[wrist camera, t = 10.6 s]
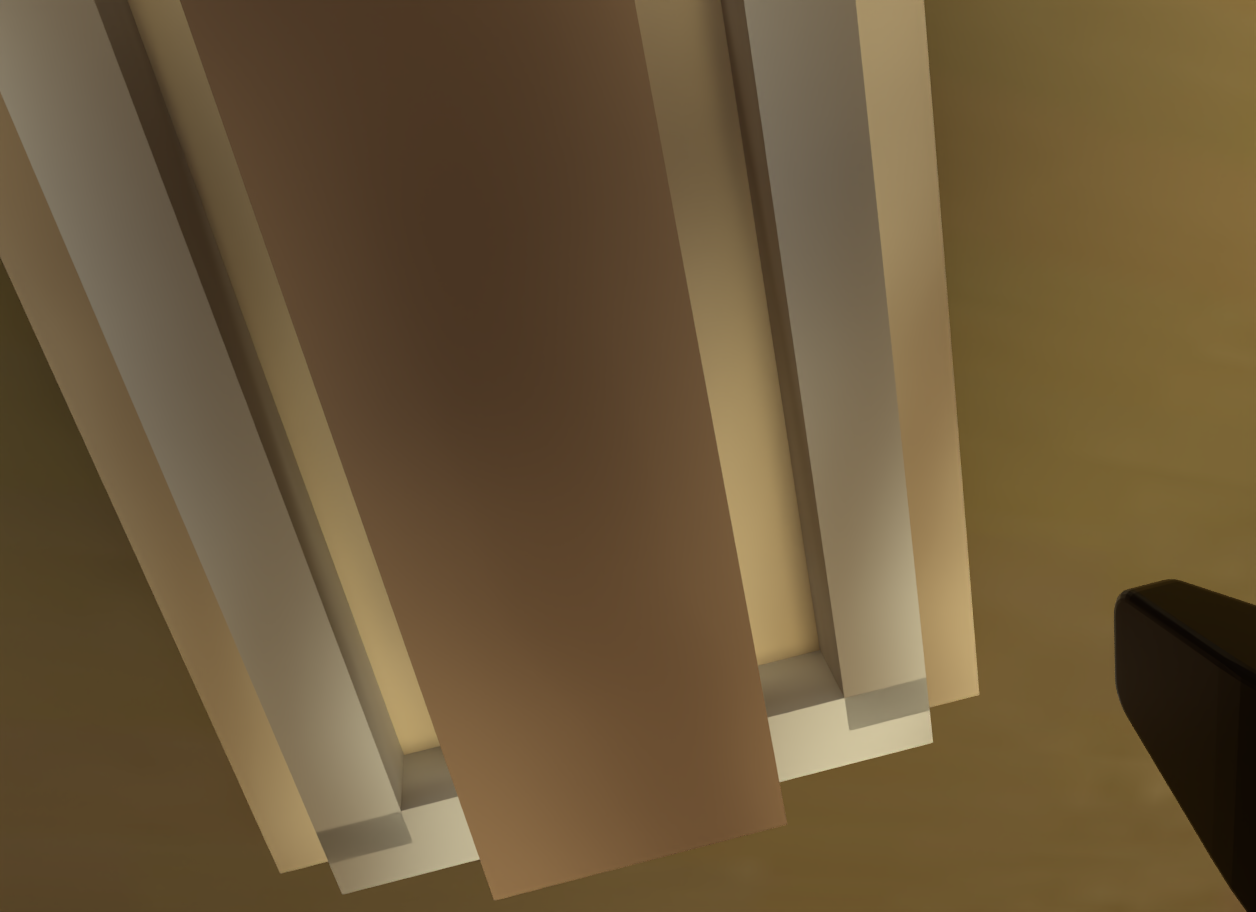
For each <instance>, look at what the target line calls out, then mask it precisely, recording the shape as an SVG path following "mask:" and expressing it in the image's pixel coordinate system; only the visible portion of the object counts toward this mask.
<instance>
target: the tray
mask: <svg viewBox="0 0 1256 912" xmlns="http://www.w3.org/2000/svg"><path fill="white" fill-rule="evenodd" d="M635 6H636V11H637V17H638V22H639V27H640V33H641V38H642V44H643V49H644V54H645V60H646V65H647V70H648V76H649V81H650V87H651V92H652V97H653V103H654V108H655V114H656V119H657V124H658V130H659V135H660V141H661V146H662V151H663V157H664V162H665V167H666V173H667V178H668V184H669V189H670V194H671V200H672V205H673V211H674V216H675V221H676V227H677V232H678V238H679V243H680V248H681V254H682V259H683V265H684V270H685V275H686V281H687V286H688V291H689V297H690V302H691V308H692V313H693V318H694V324H695V329H696V335H697V340H698V345H699V351H700V356H701V362H702V367H703V372H704V378H705V383H706V388H707V394H708V399H709V405H710V410H711V415H712V421H713V426H714V432H715V437H716V442H717V448H718V453H719V459H720V464H721V469H722V475H723V480H724V486H725V491H726V496H727V502H728V507H729V512H730V518H731V523H732V529H733V534H734V539H735V545H736V550H737V556H738V561H739V566H740V572H741V577H742V583H743V588H744V593H745V599H746V604H747V609H748V615H749V620H750V626H751V631H752V636H753V642H754V647H755V653H756V658H757V663H758V669H759V674H760V680H761V685H762V690H763V696H764V701H765V707H766V712H767V717H768V723H769V728H770V733H771V739H772V744H773V750H774V755H775V760H776V766H777V771H778V777H779V782H782V781H786V780H790V779H794V778H797V777H801V776H805V775H809V774H813V773H817V772H821V771H825V770H828V769H832V768H836V767H840V766H844V765H848V764H852V763H856V762H860V761H863V760H867V759H871V758H875V757H879V756H883V755H887V754H891V753H895V752H898V751H902V750H906V749H910V748H914V747H918V746H922V745H926V744H929V743H933V738H932V729H931V719H930V710H929V708H930V707H933V706H937V705H941V704H945V703H949V702H953V701H957V700H961V699H965V698H969V697H973V696H976V695H979V686H978V673H977V661H976V648H975V635H974V623H973V610H972V598H971V585H970V573H969V560H968V548H967V535H966V522H965V510H964V497H963V485H962V472H961V460H960V447H959V435H958V422H957V409H956V397H955V384H954V372H953V359H952V347H951V334H950V322H949V309H948V297H947V284H946V271H945V259H944V246H943V234H942V221H941V209H940V196H939V184H938V171H937V158H936V146H935V133H934V121H933V108H932V96H931V83H930V71H929V58H928V45H927V33H926V20H925V8H924V0H635ZM0 258H1V260H2V262H3V264H4V266H5V269H6V271H7V273H8V275H9V277H10V280H11V282H12V284H13V286H14V288H15V291H16V293H17V295H18V297H19V299H20V302H21V304H22V306H23V308H24V310H25V313H26V315H27V317H28V319H29V321H30V324H31V326H32V328H33V330H34V332H35V335H36V337H37V339H38V341H39V343H40V346H41V348H42V350H43V352H44V354H45V357H46V359H47V361H48V363H49V365H50V368H51V370H52V372H53V374H54V376H55V379H56V381H57V383H58V385H59V387H60V390H61V392H62V394H63V396H64V398H65V401H66V403H67V405H68V407H69V409H70V412H71V414H72V416H73V418H74V420H75V423H76V425H77V427H78V429H79V432H80V434H81V436H82V438H83V440H84V443H85V445H86V447H87V449H88V451H89V454H90V456H91V458H92V460H93V462H94V465H95V467H96V469H97V471H98V473H99V476H100V478H101V480H102V482H103V484H104V487H105V489H106V491H107V493H108V495H109V498H110V500H111V502H112V504H113V506H114V509H115V511H116V513H117V515H118V517H119V520H120V522H121V524H122V526H123V528H124V531H125V533H126V535H127V537H128V539H129V542H130V544H131V546H132V548H133V550H134V553H135V555H136V557H137V559H138V561H139V564H140V566H141V568H142V570H143V572H144V575H145V577H146V579H147V581H148V583H149V586H150V588H151V590H152V592H153V594H154V597H155V599H156V601H157V603H158V606H159V608H160V610H161V612H162V614H163V617H164V619H165V621H166V623H167V625H168V628H169V630H170V632H171V634H172V636H173V639H174V641H175V643H176V645H177V647H178V650H179V652H180V654H181V656H182V658H183V661H184V663H185V665H186V667H187V669H188V672H189V674H190V676H191V678H192V680H193V683H194V685H195V687H196V689H197V691H198V694H199V696H200V698H201V700H202V702H203V705H204V707H205V709H206V711H207V713H208V716H209V718H210V720H211V722H212V724H213V727H214V729H215V731H216V733H217V735H218V738H219V740H220V742H221V744H222V746H223V749H224V751H225V753H226V755H227V757H228V760H229V762H230V764H231V766H232V768H233V771H234V773H235V775H236V777H237V779H238V782H239V784H240V786H241V788H242V791H243V793H244V795H245V797H246V799H247V802H248V804H249V806H250V808H251V810H252V813H253V815H254V817H255V819H256V821H257V824H258V826H259V828H260V830H261V832H262V835H263V837H264V839H265V841H266V843H267V846H268V848H269V850H270V852H271V854H272V857H273V859H274V861H275V863H276V865H277V868H278V870H279V872H280V874H281V873H285V872H289V871H293V870H297V869H301V868H305V867H308V866H312V865H316V864H320V863H324V862H329V864H330V867H331V869H332V871H333V874H334V876H335V879H336V881H337V883H338V886H339V888H340V890H341V893H342V895H343V894H347V893H351V892H354V891H358V890H362V889H366V888H370V887H374V886H378V885H382V884H386V883H389V882H393V881H397V880H401V879H405V878H409V877H413V876H417V875H421V874H424V873H428V872H432V871H436V870H440V869H444V868H448V867H452V866H455V865H459V864H463V863H467V862H471V861H475V860H479V859H480V858H479V856H478V853H477V850H476V847H475V844H474V841H473V838H472V836H471V833H470V830H469V827H468V824H467V821H466V818H465V816H464V813H463V810H462V807H461V804H460V801H459V798H458V796H457V793H456V790H455V787H454V784H453V781H452V778H451V775H450V773H449V770H448V767H447V764H446V761H445V758H444V755H443V753H442V750H441V747H440V744H439V741H438V738H437V735H436V733H435V730H434V727H433V724H432V721H431V718H430V715H429V712H428V710H427V707H426V704H425V701H424V698H423V695H422V692H421V690H420V687H419V684H418V681H417V678H416V675H415V672H414V670H413V667H412V664H411V661H410V658H409V655H408V652H407V649H406V647H405V644H404V641H403V638H402V635H401V632H400V629H399V627H398V624H397V621H396V618H395V615H394V612H393V609H392V607H391V604H390V601H389V598H388V595H387V592H386V589H385V586H384V584H383V581H382V578H381V575H380V572H379V569H378V566H377V564H376V561H375V558H374V555H373V552H372V549H371V546H370V544H369V541H368V538H367V535H366V532H365V529H364V526H363V524H362V521H361V518H360V515H359V512H358V509H357V506H356V503H355V501H354V498H353V495H352V492H351V489H350V486H349V483H348V481H347V478H346V475H345V472H344V469H343V466H342V463H341V461H340V458H339V455H338V452H337V449H336V446H335V443H334V440H333V438H332V435H331V432H330V429H329V426H328V423H327V420H326V418H325V415H324V412H323V409H322V406H321V403H320V400H319V398H318V395H317V392H316V389H315V386H314V383H313V380H312V377H311V375H310V372H309V369H308V366H307V363H306V360H305V357H304V355H303V352H302V349H301V346H300V343H299V340H298V337H297V335H296V332H295V329H294V326H293V323H292V320H291V317H290V315H289V312H288V309H287V306H286V303H285V300H284V297H283V294H282V292H281V289H280V286H279V283H278V280H277V277H276V274H275V272H274V269H273V266H272V263H271V260H270V257H269V254H268V252H267V249H266V246H265V243H264V240H263V237H262V234H261V231H260V229H259V226H258V223H257V220H256V217H255V214H254V211H253V209H252V206H251V203H250V200H249V197H248V194H247V191H246V189H245V186H244V183H243V180H242V177H241V174H240V171H239V168H238V166H237V163H236V160H235V157H234V154H233V151H232V148H231V146H230V143H229V140H228V137H227V134H226V131H225V128H224V126H223V123H222V120H221V117H220V114H219V111H218V108H217V105H216V103H215V100H214V97H213V94H212V91H211V88H210V85H209V83H208V80H207V77H206V74H205V71H204V68H203V65H202V63H201V60H200V57H199V54H198V51H197V48H196V45H195V43H194V40H193V37H192V34H191V31H190V28H189V25H188V22H187V20H186V17H185V14H184V11H183V8H182V5H181V2H180V0H0Z"/></svg>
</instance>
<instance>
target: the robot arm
mask: <svg viewBox="0 0 1256 912" xmlns="http://www.w3.org/2000/svg"><path fill="white" fill-rule="evenodd" d="M1114 644H1115V684H1116V689H1117V694H1118V697H1119V700H1120V703H1121V705H1122V707H1123V710H1124V712H1125V714H1126V716H1127V717H1128V719H1129V721H1130V722H1131V724H1132V726H1133V727H1134V729H1135V731H1136V732H1137V734H1138V736H1139V737H1140V739H1141V741H1142V743H1143V744H1144V746H1145V748H1146V749H1147V751H1148V753H1149V754H1150V756H1151V758H1152V759H1153V761H1154V763H1155V764H1156V766H1157V768H1158V769H1159V771H1160V773H1161V774H1162V776H1163V778H1164V780H1165V781H1166V783H1167V785H1168V786H1169V788H1170V790H1171V791H1172V793H1173V795H1174V796H1175V798H1176V800H1177V801H1178V803H1179V805H1180V806H1181V808H1182V810H1183V811H1184V813H1185V815H1186V817H1187V818H1188V820H1189V822H1190V823H1191V825H1192V827H1193V828H1194V830H1195V832H1196V833H1197V835H1198V837H1199V838H1200V840H1201V842H1202V843H1203V845H1204V847H1205V848H1206V850H1207V852H1208V854H1209V855H1210V857H1211V859H1212V860H1213V862H1214V863H1215V865H1216V867H1217V868H1218V870H1219V871H1220V873H1221V874H1222V876H1223V878H1224V879H1225V881H1226V882H1227V884H1228V886H1229V887H1230V889H1231V890H1232V892H1233V893H1234V894H1235V896H1236V897H1237V899H1238V900H1239V901H1240V903H1241V904H1242V906H1243V907H1244V908H1245V910H1246V911H1247V912H1256V605H1253V604H1250V603H1247V602H1244V601H1241V600H1238V599H1235V598H1232V597H1229V596H1226V595H1223V594H1220V593H1217V592H1214V591H1211V590H1208V589H1205V588H1201V587H1198V586H1195V585H1192V584H1189V583H1186V582H1183V581H1180V580H1176V579H1168V580H1162V581H1158V582H1154V583H1150V584H1147V585H1143V586H1139V587H1135V588H1131V589H1127V590H1125V591H1123V592H1122V593H1121V594H1120V595H1119V596H1118V597H1117V600H1116V603H1115V608H1114Z"/></svg>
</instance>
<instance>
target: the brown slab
mask: <svg viewBox="0 0 1256 912" xmlns="http://www.w3.org/2000/svg"><path fill="white" fill-rule="evenodd" d="M180 2H181V5H182V8H183V11H184V14H185V17H186V20H187V22H188V25H189V28H190V31H191V34H192V37H193V40H194V43H195V45H196V48H197V51H198V54H199V57H200V60H201V63H202V65H203V68H204V71H205V74H206V77H207V80H208V83H209V85H210V88H211V91H212V94H213V97H214V100H215V103H216V105H217V108H218V111H219V114H220V117H221V120H222V123H223V126H224V128H225V131H226V134H227V137H228V140H229V143H230V146H231V148H232V151H233V154H234V157H235V160H236V163H237V166H238V168H239V171H240V174H241V177H242V180H243V183H244V186H245V189H246V191H247V194H248V197H249V200H250V203H251V206H252V209H253V211H254V214H255V217H256V220H257V223H258V226H259V229H260V231H261V234H262V237H263V240H264V243H265V246H266V249H267V252H268V254H269V257H270V260H271V263H272V266H273V269H274V272H275V274H276V277H277V280H278V283H279V286H280V289H281V292H282V294H283V297H284V300H285V303H286V306H287V309H288V312H289V315H290V317H291V320H292V323H293V326H294V329H295V332H296V335H297V337H298V340H299V343H300V346H301V349H302V352H303V355H304V357H305V360H306V363H307V366H308V369H309V372H310V375H311V377H312V380H313V383H314V386H315V389H316V392H317V395H318V398H319V400H320V403H321V406H322V409H323V412H324V415H325V418H326V420H327V423H328V426H329V429H330V432H331V435H332V438H333V440H334V443H335V446H336V449H337V452H338V455H339V458H340V461H341V463H342V466H343V469H344V472H345V475H346V478H347V481H348V483H349V486H350V489H351V492H352V495H353V498H354V501H355V503H356V506H357V509H358V512H359V515H360V518H361V521H362V524H363V526H364V529H365V532H366V535H367V538H368V541H369V544H370V546H371V549H372V552H373V555H374V558H375V561H376V564H377V566H378V569H379V572H380V575H381V578H382V581H383V584H384V586H385V589H386V592H387V595H388V598H389V601H390V604H391V607H392V609H393V612H394V615H395V618H396V621H397V624H398V627H399V629H400V632H401V635H402V638H403V641H404V644H405V647H406V649H407V652H408V655H409V658H410V661H411V664H412V667H413V670H414V672H415V675H416V678H417V681H418V684H419V687H420V690H421V692H422V695H423V698H424V701H425V704H426V707H427V710H428V712H429V715H430V718H431V721H432V724H433V727H434V730H435V733H436V735H437V738H438V741H439V744H440V747H441V750H442V753H443V755H444V758H445V761H446V764H447V767H448V770H449V773H450V775H451V778H452V781H453V784H454V787H455V790H456V793H457V796H458V798H459V801H460V804H461V807H462V810H463V813H464V816H465V818H466V821H467V824H468V827H469V830H470V833H471V836H472V838H473V841H474V844H475V847H476V850H477V853H478V856H479V858H480V861H481V864H482V867H483V870H484V873H485V876H486V879H487V881H488V884H489V887H490V890H491V893H492V896H493V899H494V901H495V900H499V899H503V898H507V897H511V896H514V895H518V894H522V893H526V892H530V891H534V890H537V889H541V888H545V887H549V886H553V885H557V884H560V883H564V882H568V881H572V880H576V879H580V878H583V877H587V876H591V875H595V874H599V873H603V872H606V871H610V870H614V869H618V868H622V867H626V866H630V865H633V864H637V863H641V862H645V861H649V860H653V859H656V858H660V857H664V856H668V855H672V854H676V853H679V852H683V851H687V850H691V849H695V848H699V847H702V846H706V845H710V844H714V843H718V842H722V841H726V840H729V839H733V838H737V837H741V836H745V835H749V834H752V833H756V832H760V831H764V830H768V829H772V828H775V827H779V826H783V825H787V820H786V814H785V809H784V804H783V798H782V793H781V787H780V782H779V777H778V771H777V766H776V760H775V755H774V750H773V744H772V739H771V733H770V728H769V723H768V717H767V712H766V707H765V701H764V696H763V690H762V685H761V680H760V674H759V669H758V663H757V658H756V653H755V647H754V642H753V636H752V631H751V626H750V620H749V615H748V609H747V604H746V599H745V593H744V588H743V583H742V577H741V572H740V566H739V561H738V556H737V550H736V545H735V539H734V534H733V529H732V523H731V518H730V512H729V507H728V502H727V496H726V491H725V486H724V480H723V475H722V469H721V464H720V459H719V453H718V448H717V442H716V437H715V432H714V426H713V421H712V415H711V410H710V405H709V399H708V394H707V388H706V383H705V378H704V372H703V367H702V362H701V356H700V351H699V345H698V340H697V335H696V329H695V324H694V318H693V313H692V308H691V302H690V297H689V291H688V286H687V281H686V275H685V270H684V265H683V259H682V254H681V248H680V243H679V238H678V232H677V227H676V221H675V216H674V211H673V205H672V200H671V194H670V189H669V184H668V178H667V173H666V167H665V162H664V157H663V151H662V146H661V141H660V135H659V130H658V124H657V119H656V114H655V108H654V103H653V97H652V92H651V87H650V81H649V76H648V70H647V65H646V60H645V54H644V49H643V44H642V38H641V33H640V27H639V22H638V17H637V11H636V6H635V0H180Z"/></svg>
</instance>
